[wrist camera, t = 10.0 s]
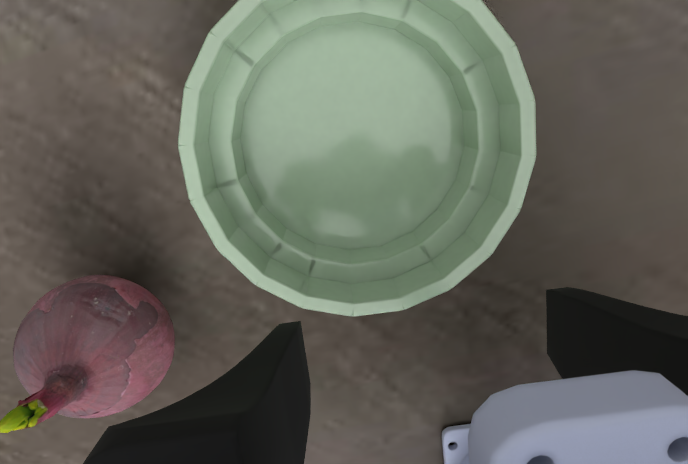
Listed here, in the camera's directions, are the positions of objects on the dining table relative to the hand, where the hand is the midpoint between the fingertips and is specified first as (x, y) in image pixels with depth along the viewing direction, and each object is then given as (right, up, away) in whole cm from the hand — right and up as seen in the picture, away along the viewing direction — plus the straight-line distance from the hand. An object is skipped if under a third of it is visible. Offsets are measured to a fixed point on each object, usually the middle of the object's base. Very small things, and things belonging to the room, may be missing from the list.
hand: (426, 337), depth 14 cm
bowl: (-2, +7, +9) cm, 12 cm away
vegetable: (-13, -1, +11) cm, 17 cm away
